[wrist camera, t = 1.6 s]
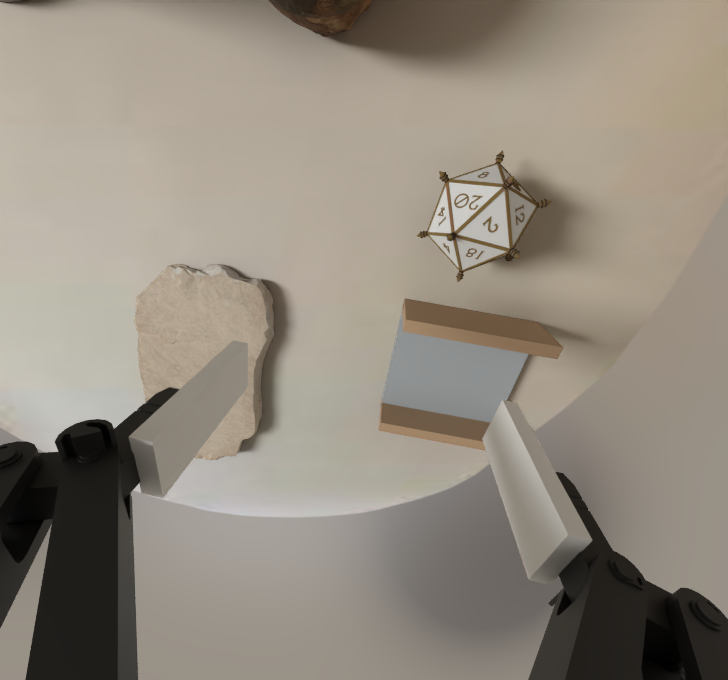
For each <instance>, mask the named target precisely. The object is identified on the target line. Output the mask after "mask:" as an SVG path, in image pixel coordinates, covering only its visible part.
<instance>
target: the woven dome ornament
mask: <svg viewBox="0 0 728 680" xmlns="http://www.w3.org/2000/svg"><path fill="white" fill-rule="evenodd" d="M269 1H270V2H271V3H272V4H273V5H274V7H275V8H277V9H278V10H279V11H280V12H281V13H282V14H284V15H285V16H286V17H288V18H289V19H291V20H292V21H294V22H295V23H297V24H298V25H301V26H303V27H306V28H308V29H310V30H312V31H313V32H315V33H318V34H320V35H322V36H325V37H327V36H330V35H334V34H336V33H339V32H345V31H347V30H349V29H350V27H351V26H352V25H353V24H354V22H355V20H356V19H357V18H358V16H359V15H360V14H361V13H362V12H363V11H368V9H369V7H370V4H371V2H372V0H269Z"/></svg>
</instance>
